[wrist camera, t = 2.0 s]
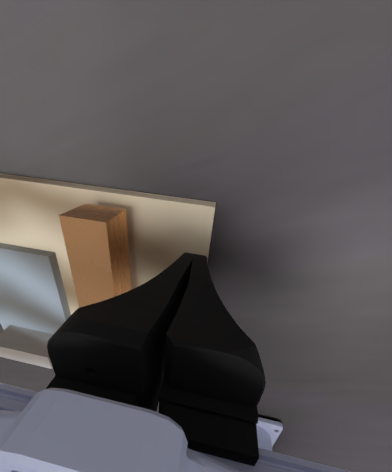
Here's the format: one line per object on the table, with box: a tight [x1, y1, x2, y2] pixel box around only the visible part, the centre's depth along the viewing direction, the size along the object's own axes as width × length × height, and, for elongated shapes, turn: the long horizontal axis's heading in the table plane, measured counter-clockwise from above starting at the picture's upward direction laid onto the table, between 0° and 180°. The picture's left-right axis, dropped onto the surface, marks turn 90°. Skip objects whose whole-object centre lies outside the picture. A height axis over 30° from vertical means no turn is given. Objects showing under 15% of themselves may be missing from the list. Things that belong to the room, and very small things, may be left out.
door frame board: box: [0, 173, 216, 369], centre depth 16 cm, size 19×18×4 cm
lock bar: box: [59, 204, 131, 307], centre depth 13 cm, size 13×3×2 cm, turn 175°
